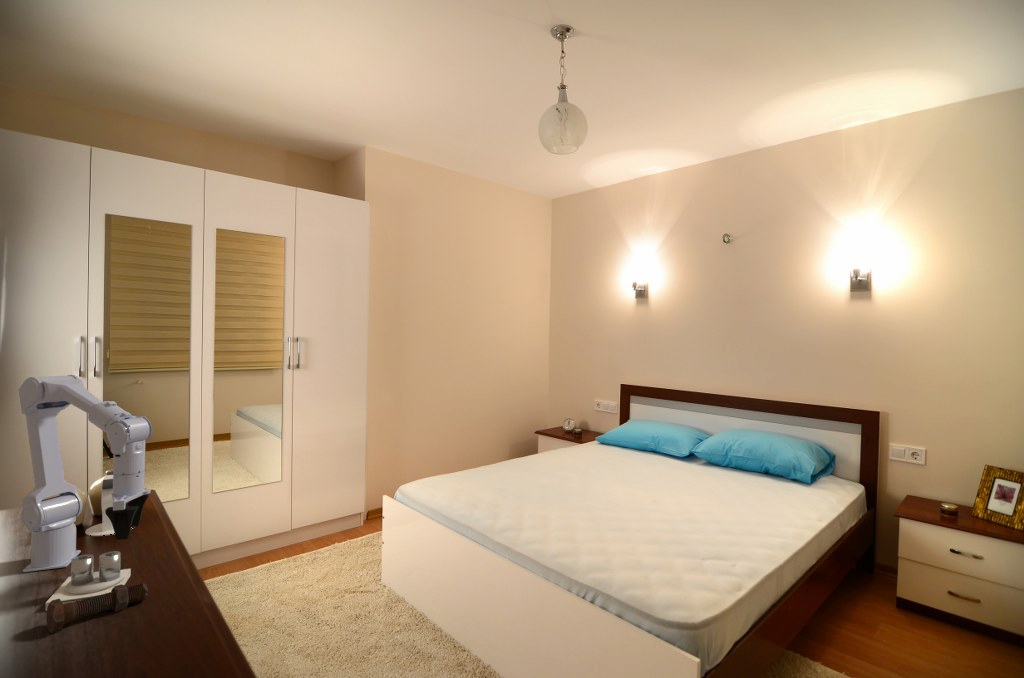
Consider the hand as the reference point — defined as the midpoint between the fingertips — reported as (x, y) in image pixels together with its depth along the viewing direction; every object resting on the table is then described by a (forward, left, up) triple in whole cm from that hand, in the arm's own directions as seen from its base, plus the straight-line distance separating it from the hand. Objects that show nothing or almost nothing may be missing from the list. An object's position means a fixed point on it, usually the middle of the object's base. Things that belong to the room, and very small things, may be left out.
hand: (127, 532), depth 116 cm
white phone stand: (-36, -12, -10) cm, 39 cm away
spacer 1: (+6, -6, -7) cm, 11 cm away
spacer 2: (+6, -2, -7) cm, 10 cm away
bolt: (+17, 0, -10) cm, 20 cm away
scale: (+6, -5, -10) cm, 12 cm away
